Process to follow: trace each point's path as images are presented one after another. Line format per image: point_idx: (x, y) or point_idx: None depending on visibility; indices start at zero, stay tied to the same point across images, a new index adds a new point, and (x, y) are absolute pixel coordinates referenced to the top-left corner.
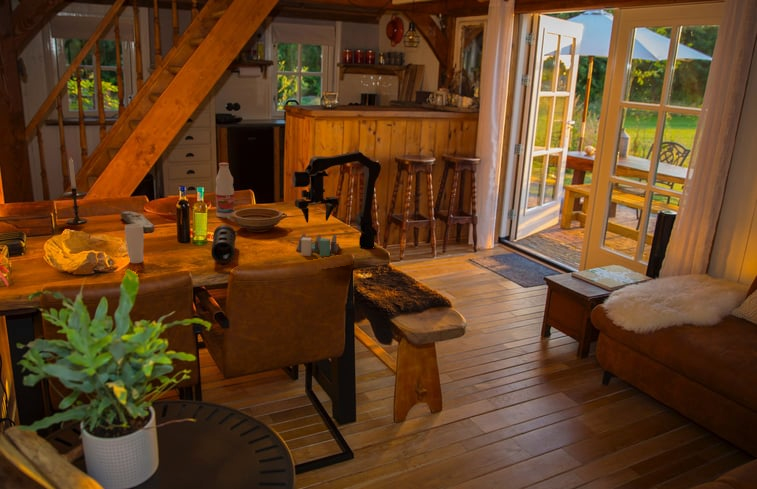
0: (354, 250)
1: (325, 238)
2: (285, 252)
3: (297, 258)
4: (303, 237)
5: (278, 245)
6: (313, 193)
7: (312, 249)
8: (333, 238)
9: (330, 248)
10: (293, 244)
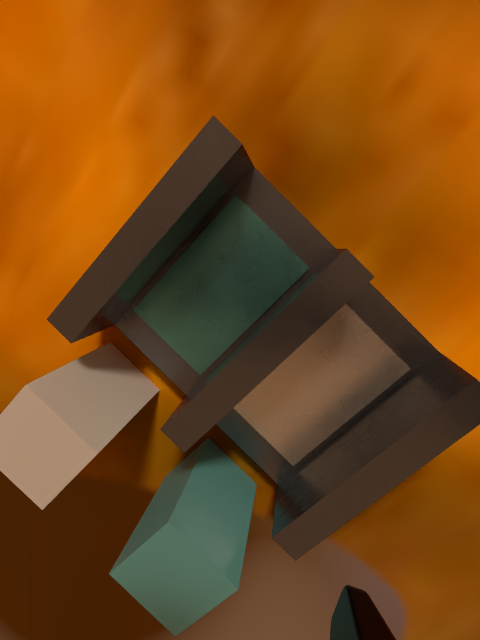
0: (477, 541)
1: (200, 558)
2: (12, 263)
3: None
4: (30, 395)
5: (49, 58)
6: None
7: (179, 373)
8: (379, 472)
9: (307, 451)
10: (170, 104)
